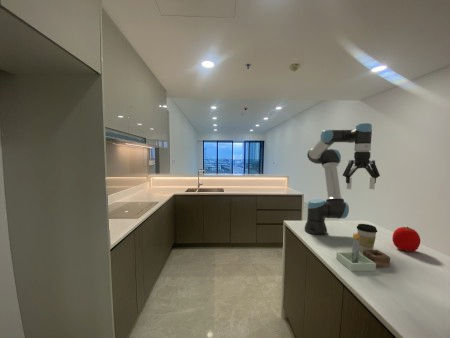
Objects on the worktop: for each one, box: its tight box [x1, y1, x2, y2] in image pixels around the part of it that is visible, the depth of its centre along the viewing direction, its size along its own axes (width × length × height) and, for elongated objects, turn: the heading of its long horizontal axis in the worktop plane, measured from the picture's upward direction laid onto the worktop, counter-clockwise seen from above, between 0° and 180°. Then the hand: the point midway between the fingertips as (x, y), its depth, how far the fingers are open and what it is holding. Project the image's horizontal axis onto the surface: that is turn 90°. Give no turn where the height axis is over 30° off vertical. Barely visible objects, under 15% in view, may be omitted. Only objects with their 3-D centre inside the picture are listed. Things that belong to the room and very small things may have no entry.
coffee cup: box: [356, 223, 378, 253], centre depth 115 cm, size 10×10×15 cm
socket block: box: [362, 249, 391, 268], centre depth 103 cm, size 8×8×5 cm
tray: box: [335, 251, 377, 272], centre depth 101 cm, size 12×12×4 cm
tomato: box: [392, 226, 421, 253], centre depth 118 cm, size 13×11×14 cm
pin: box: [351, 233, 360, 263], centre depth 101 cm, size 3×3×15 cm
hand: (360, 189), depth 113 cm, fingers open, 13 cm apart
